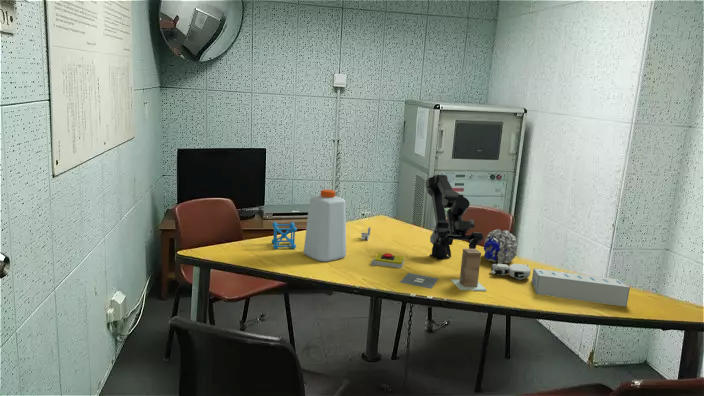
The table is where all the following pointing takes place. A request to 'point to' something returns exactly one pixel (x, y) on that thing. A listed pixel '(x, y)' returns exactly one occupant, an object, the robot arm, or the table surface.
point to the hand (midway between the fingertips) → (461, 257)
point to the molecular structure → (284, 235)
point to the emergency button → (388, 260)
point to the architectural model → (365, 234)
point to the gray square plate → (419, 280)
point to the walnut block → (470, 267)
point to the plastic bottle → (326, 227)
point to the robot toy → (511, 270)
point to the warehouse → (580, 287)
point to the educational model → (500, 246)
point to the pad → (461, 287)
